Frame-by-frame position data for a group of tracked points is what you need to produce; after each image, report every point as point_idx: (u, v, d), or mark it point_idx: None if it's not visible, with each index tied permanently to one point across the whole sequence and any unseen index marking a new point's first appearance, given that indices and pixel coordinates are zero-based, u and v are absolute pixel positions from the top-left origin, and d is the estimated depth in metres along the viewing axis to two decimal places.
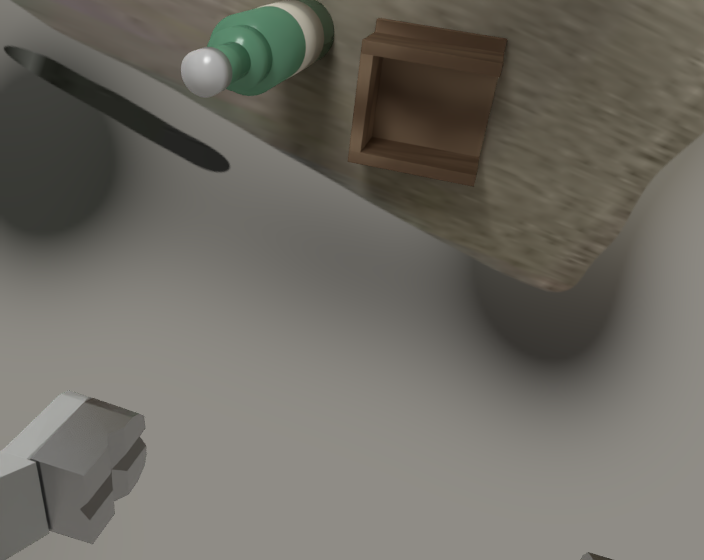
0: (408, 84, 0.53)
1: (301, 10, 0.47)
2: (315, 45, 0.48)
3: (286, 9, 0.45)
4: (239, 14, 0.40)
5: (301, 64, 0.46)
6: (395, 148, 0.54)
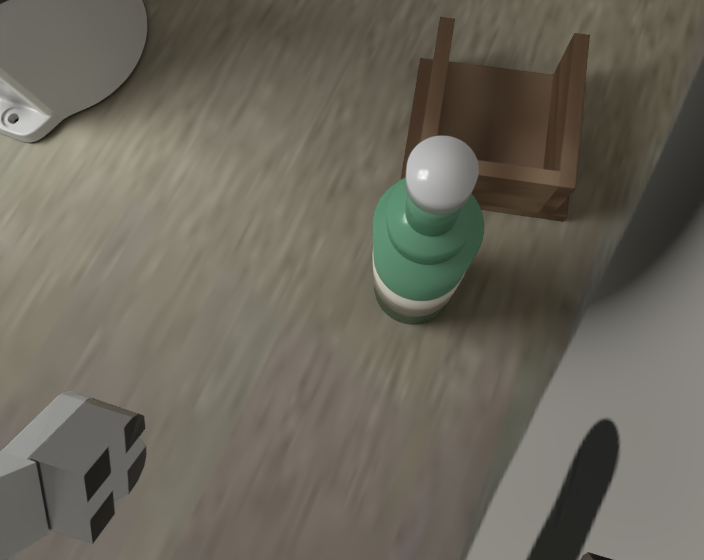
0: None
1: None
2: None
3: None
4: (373, 226, 0.29)
5: None
6: (551, 152, 0.41)
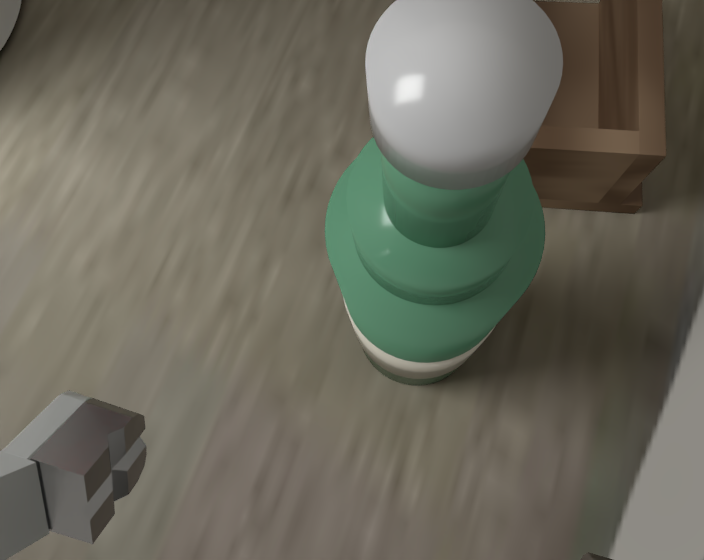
0: None
1: None
2: None
3: None
4: (327, 237, 0.15)
5: None
6: (614, 109, 0.27)
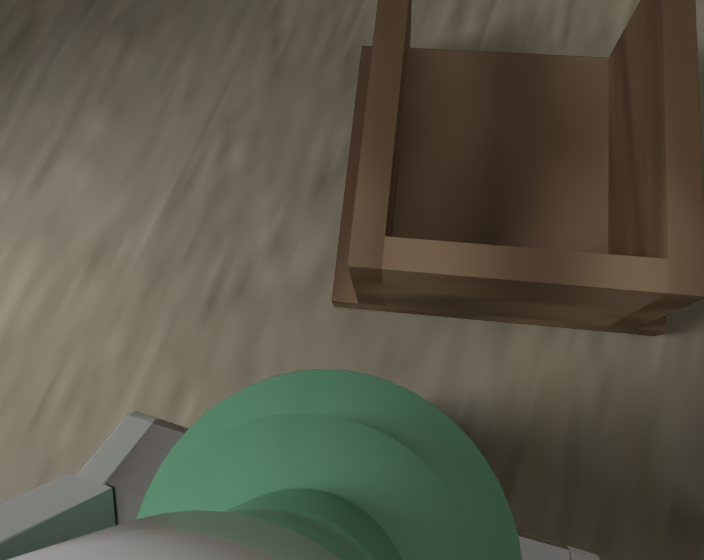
0: (467, 221, 0.23)
1: None
2: None
3: None
4: None
5: None
6: (630, 208, 0.20)
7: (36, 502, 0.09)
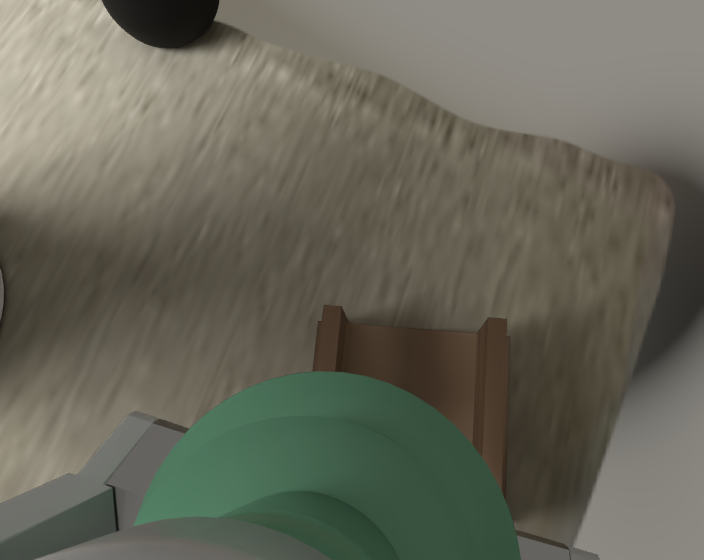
0: None
1: None
2: None
3: None
4: None
5: None
6: None
7: (36, 502, 0.09)
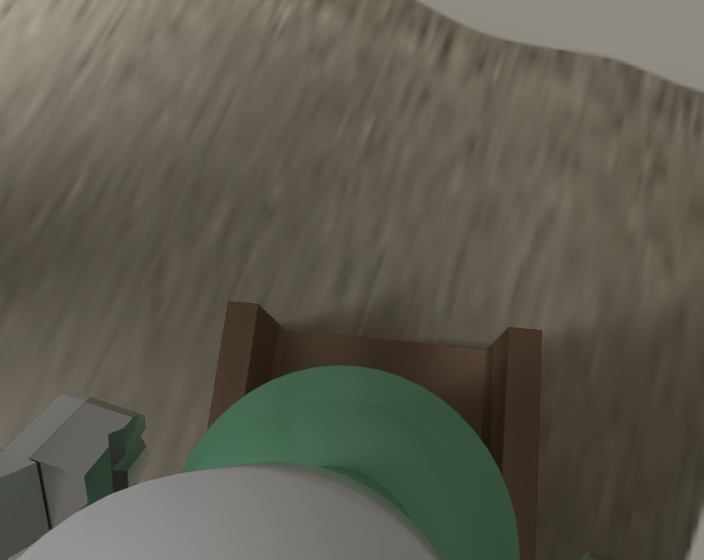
0: None
1: None
2: None
3: None
4: None
5: None
6: None
7: None
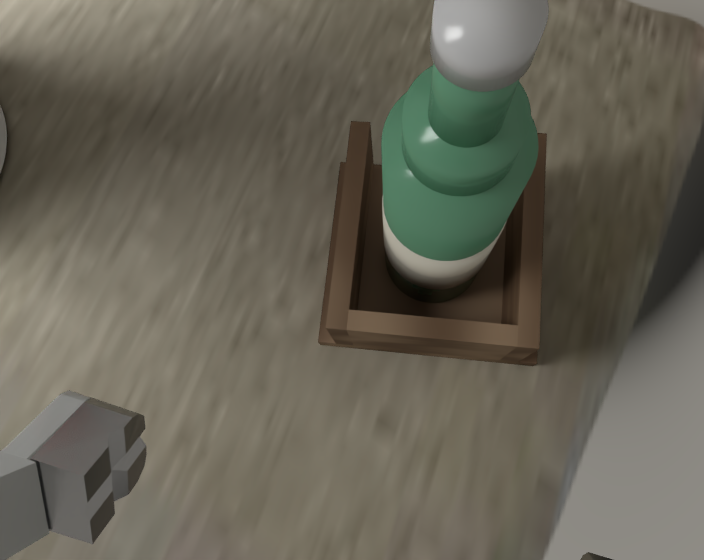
0: None
1: None
2: None
3: None
4: (383, 150, 0.21)
5: None
6: (509, 285, 0.31)
7: None
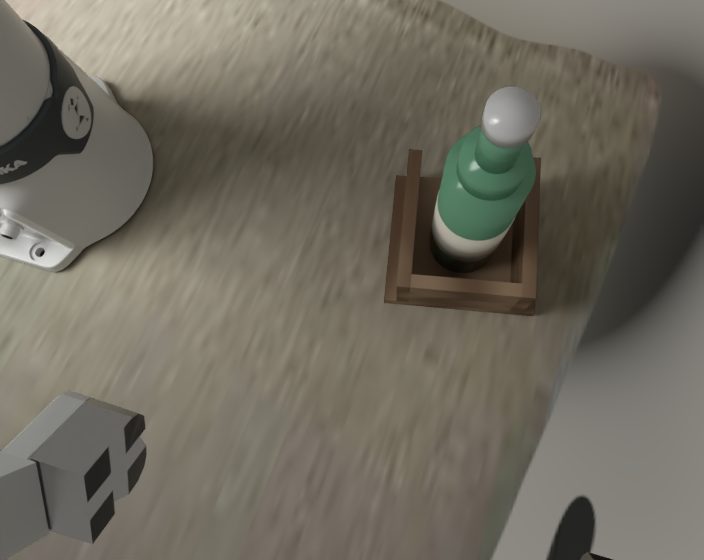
0: None
1: None
2: None
3: (439, 191, 0.42)
4: (446, 174, 0.36)
5: None
6: (516, 259, 0.47)
7: None
